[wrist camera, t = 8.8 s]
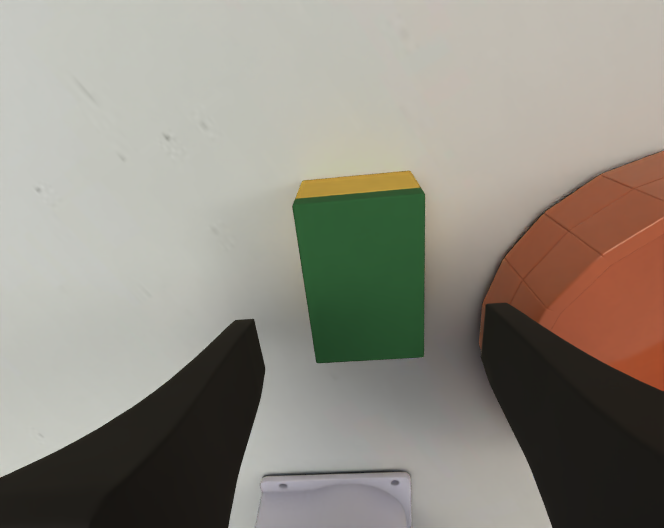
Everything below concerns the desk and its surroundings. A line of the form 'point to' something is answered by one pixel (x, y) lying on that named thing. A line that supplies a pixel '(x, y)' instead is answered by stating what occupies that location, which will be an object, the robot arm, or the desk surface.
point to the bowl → (597, 270)
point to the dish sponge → (363, 265)
